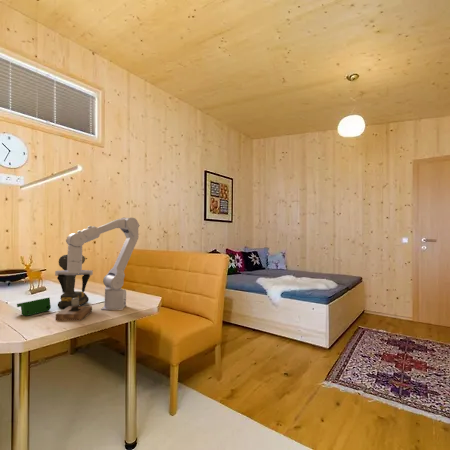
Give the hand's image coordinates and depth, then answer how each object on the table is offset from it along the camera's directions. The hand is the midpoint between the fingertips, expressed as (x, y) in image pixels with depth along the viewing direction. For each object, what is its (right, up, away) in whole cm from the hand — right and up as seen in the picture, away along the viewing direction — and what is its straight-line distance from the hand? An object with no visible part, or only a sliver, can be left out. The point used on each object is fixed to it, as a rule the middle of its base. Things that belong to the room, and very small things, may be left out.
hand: (73, 291), depth 128 cm
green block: (-18, -10, +1) cm, 21 cm away
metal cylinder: (+1, -10, -1) cm, 10 cm away
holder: (+1, -10, -2) cm, 10 cm away
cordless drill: (-7, -10, +17) cm, 21 cm away
